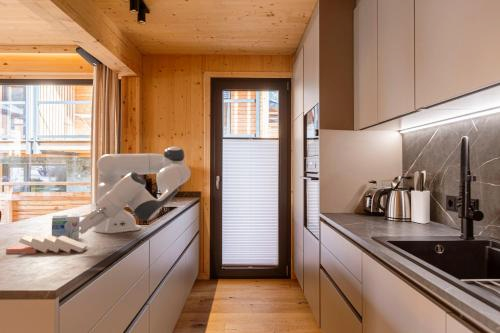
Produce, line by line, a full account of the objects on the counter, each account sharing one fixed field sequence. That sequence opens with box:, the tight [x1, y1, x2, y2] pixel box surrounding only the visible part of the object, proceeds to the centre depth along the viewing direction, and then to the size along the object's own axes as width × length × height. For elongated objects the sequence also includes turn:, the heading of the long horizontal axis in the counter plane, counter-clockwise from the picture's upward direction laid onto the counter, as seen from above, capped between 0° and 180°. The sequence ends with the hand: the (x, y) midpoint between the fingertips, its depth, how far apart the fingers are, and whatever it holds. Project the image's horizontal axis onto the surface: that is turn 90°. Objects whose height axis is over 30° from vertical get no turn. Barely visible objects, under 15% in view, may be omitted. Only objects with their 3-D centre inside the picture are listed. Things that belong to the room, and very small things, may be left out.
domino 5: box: [55, 235, 88, 252], centre depth 124 cm, size 2×5×10 cm
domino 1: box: [5, 245, 40, 255], centre depth 122 cm, size 2×5×10 cm
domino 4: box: [43, 234, 73, 253], centre depth 124 cm, size 2×5×10 cm
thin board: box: [22, 246, 102, 256], centre depth 124 cm, size 24×10×1 cm, turn 97°
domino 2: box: [18, 234, 50, 253], centre depth 123 cm, size 2×5×10 cm
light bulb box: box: [51, 213, 80, 240], centre depth 146 cm, size 11×7×11 cm, turn 117°
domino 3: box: [31, 234, 61, 253], centre depth 123 cm, size 2×5×10 cm
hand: (81, 232), depth 124 cm, fingers closed
